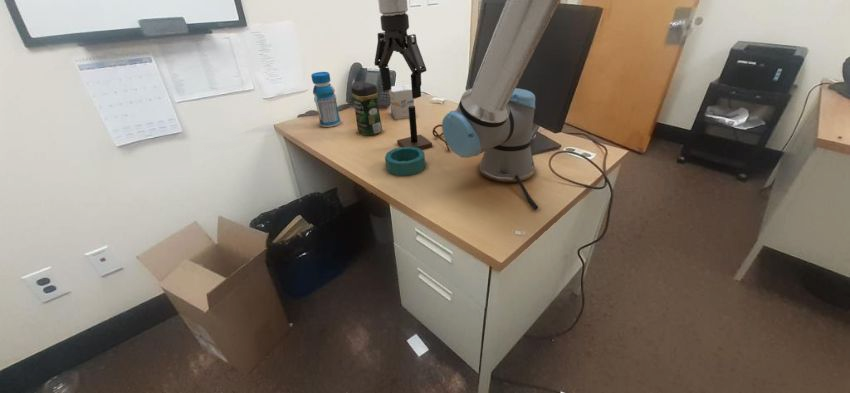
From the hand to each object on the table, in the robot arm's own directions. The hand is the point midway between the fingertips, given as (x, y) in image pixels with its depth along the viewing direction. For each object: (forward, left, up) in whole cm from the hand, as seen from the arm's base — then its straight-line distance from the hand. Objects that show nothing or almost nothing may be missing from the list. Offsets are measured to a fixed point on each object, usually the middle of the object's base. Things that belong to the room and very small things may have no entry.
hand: (401, 93), depth 104 cm
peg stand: (+4, -5, -20) cm, 21 cm away
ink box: (+35, -14, -20) cm, 43 cm away
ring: (-9, +4, -20) cm, 22 cm away
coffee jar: (+25, +4, -20) cm, 32 cm away
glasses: (-1, -19, -20) cm, 27 cm away
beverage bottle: (+43, +15, -20) cm, 50 cm away
